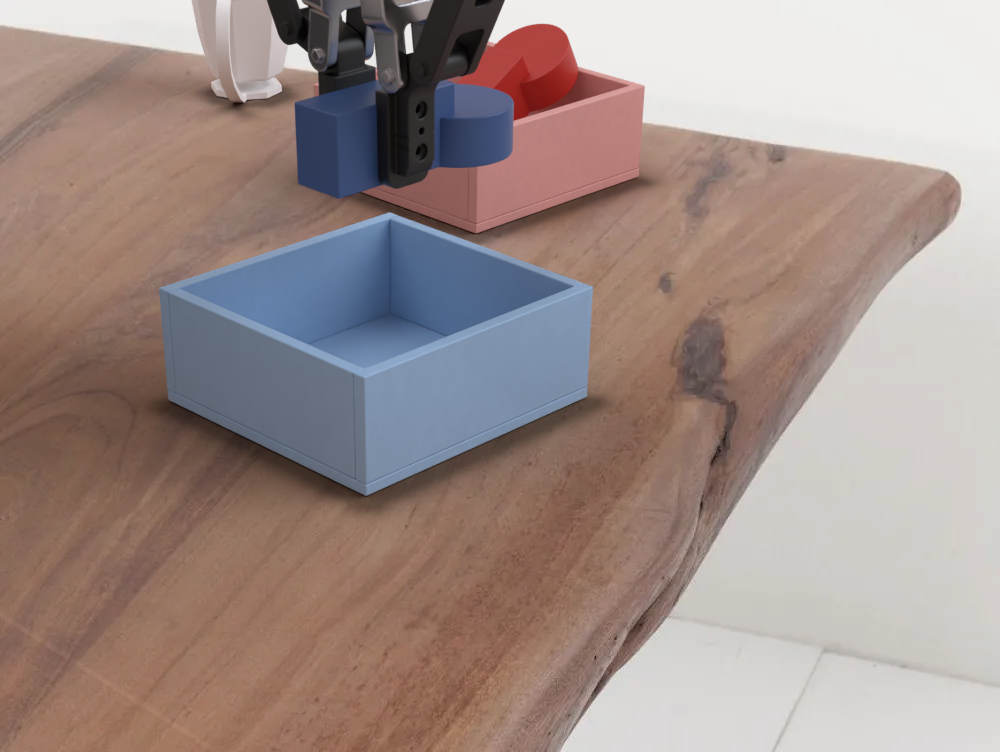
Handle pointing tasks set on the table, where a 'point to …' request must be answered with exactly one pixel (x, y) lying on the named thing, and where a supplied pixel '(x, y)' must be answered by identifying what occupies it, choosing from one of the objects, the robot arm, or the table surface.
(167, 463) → the table surface
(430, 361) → the blue bin
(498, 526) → the table surface
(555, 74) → the red rounded block
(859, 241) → the table surface
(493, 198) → the rose bin
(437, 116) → the dark blue rounded block
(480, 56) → the robot arm
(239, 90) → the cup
